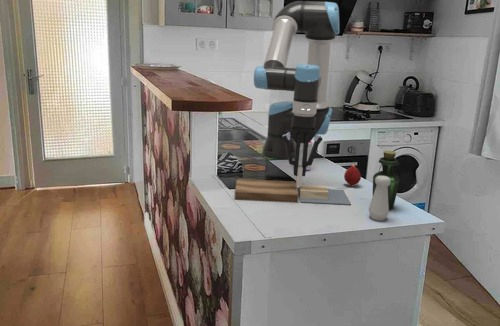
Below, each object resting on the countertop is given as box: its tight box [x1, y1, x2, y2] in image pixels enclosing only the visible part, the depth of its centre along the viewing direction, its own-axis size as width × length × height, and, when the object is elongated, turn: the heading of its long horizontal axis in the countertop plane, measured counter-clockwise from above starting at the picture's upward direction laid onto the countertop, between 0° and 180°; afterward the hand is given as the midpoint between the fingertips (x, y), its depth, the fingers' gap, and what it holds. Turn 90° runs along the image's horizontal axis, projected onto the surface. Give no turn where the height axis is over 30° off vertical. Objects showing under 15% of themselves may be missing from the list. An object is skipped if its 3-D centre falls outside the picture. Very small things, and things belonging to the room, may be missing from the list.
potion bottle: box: [371, 150, 401, 211], centre depth 146 cm, size 8×8×18 cm
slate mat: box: [296, 187, 352, 206], centre depth 155 cm, size 14×16×1 cm
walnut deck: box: [234, 178, 299, 204], centre depth 155 cm, size 14×20×2 cm
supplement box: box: [298, 140, 314, 172], centre depth 184 cm, size 6×6×12 cm
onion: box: [343, 164, 362, 187], centre depth 166 cm, size 6×6×8 cm
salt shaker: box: [368, 176, 390, 222], centre depth 137 cm, size 6×6×13 cm
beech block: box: [298, 184, 328, 199], centre depth 154 cm, size 6×9×2 cm, turn 89°
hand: (298, 185), depth 154 cm, fingers closed
